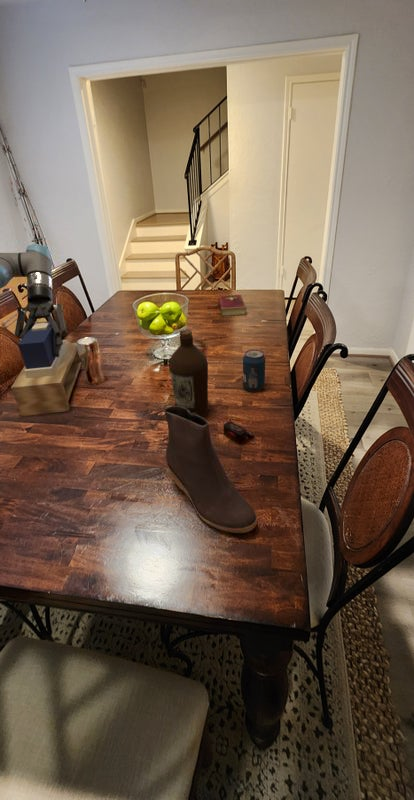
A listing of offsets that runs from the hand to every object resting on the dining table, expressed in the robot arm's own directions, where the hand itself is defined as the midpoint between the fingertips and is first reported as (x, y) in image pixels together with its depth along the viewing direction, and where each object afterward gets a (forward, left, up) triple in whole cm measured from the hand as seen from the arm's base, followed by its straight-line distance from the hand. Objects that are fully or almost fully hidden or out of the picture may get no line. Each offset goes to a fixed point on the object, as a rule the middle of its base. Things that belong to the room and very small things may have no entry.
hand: (42, 356), depth 115 cm
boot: (+44, -56, -14) cm, 72 cm away
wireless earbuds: (+55, -35, -14) cm, 66 cm away
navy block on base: (0, +4, -4) cm, 6 cm away
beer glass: (+13, +6, -14) cm, 20 cm away
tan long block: (0, +3, -14) cm, 14 cm away
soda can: (+65, -10, -14) cm, 67 cm away
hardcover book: (+73, +69, -14) cm, 102 cm away
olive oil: (+44, -20, -14) cm, 50 cm away
